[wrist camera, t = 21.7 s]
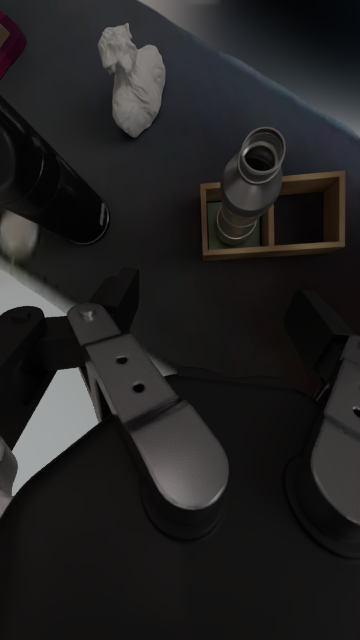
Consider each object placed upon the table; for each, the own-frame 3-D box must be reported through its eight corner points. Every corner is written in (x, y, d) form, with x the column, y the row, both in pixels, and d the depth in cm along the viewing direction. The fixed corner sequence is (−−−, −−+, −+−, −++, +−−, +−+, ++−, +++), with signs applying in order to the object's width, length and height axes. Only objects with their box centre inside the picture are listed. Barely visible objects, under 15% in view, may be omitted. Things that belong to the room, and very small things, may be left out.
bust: (160, 86, 41) (107, 3, 32) (188, 76, 36) (133, -25, 28) (127, 149, 42) (67, 86, 34) (149, 148, 37) (86, 74, 29)
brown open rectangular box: (202, 261, 40) (202, 255, 36) (200, 197, 39) (200, 183, 35) (328, 253, 38) (345, 246, 34) (328, 186, 37) (345, 170, 33)
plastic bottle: (255, 208, 38) (310, 106, 19) (250, 249, 39) (298, 194, 19) (215, 206, 39) (228, 105, 19) (211, 247, 40) (219, 190, 20)
